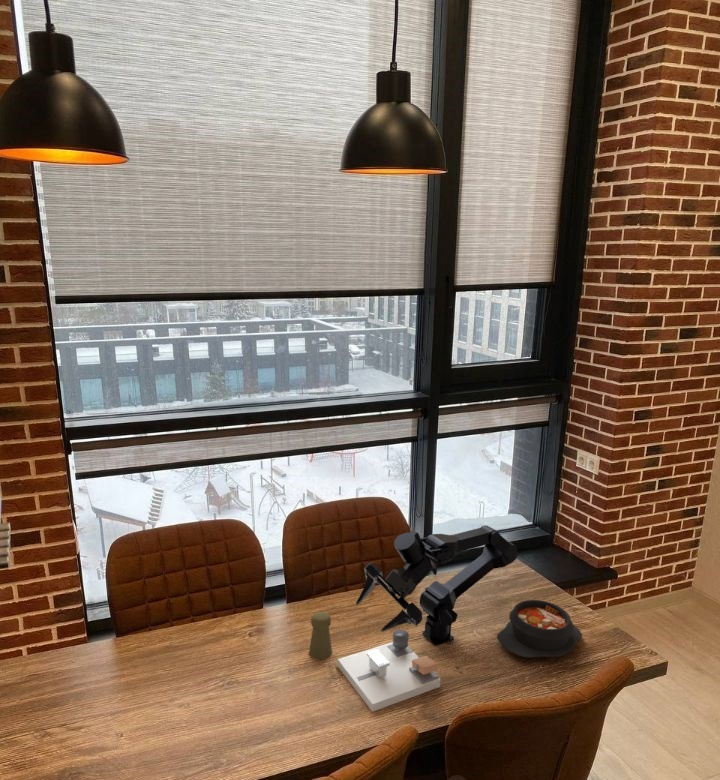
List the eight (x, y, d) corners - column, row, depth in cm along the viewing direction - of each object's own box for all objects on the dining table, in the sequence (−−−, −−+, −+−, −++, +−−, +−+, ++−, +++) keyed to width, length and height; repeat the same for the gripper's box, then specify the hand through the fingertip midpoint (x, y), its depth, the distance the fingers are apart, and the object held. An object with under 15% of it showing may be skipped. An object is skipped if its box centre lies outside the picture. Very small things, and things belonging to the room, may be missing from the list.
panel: (400, 645, 166) (401, 637, 165) (440, 686, 150) (440, 677, 150) (337, 666, 157) (337, 657, 156) (372, 711, 141) (372, 701, 141)
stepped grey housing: (376, 662, 155) (377, 649, 154) (389, 676, 150) (389, 663, 149) (366, 665, 153) (366, 652, 153) (378, 679, 148) (379, 666, 148)
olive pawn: (328, 661, 159) (329, 622, 156) (306, 657, 160) (306, 619, 157) (334, 647, 164) (335, 609, 162) (312, 643, 166) (313, 606, 163)
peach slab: (426, 661, 154) (425, 655, 154) (437, 669, 150) (437, 663, 150) (411, 666, 152) (411, 660, 152) (422, 674, 148) (422, 668, 148)
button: (402, 638, 163) (403, 628, 163) (410, 646, 160) (411, 636, 159) (389, 642, 162) (390, 631, 161) (397, 650, 158) (398, 640, 158)
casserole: (547, 613, 184) (549, 587, 182) (597, 647, 168) (601, 620, 166) (481, 635, 172) (483, 608, 170) (529, 675, 156) (532, 645, 154)
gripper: (385, 538, 158) (340, 581, 153) (439, 590, 149) (393, 638, 144) (387, 553, 167) (345, 594, 162) (438, 603, 159) (395, 648, 154)
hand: (368, 617), depth 155 cm, fingers open, 9 cm apart
